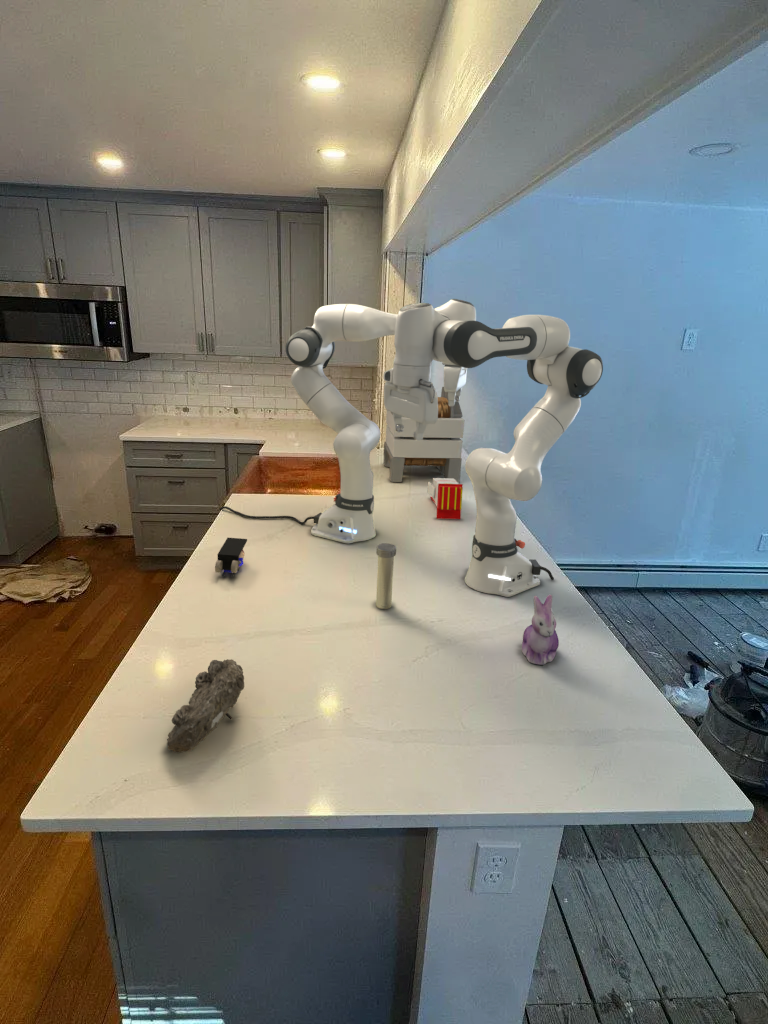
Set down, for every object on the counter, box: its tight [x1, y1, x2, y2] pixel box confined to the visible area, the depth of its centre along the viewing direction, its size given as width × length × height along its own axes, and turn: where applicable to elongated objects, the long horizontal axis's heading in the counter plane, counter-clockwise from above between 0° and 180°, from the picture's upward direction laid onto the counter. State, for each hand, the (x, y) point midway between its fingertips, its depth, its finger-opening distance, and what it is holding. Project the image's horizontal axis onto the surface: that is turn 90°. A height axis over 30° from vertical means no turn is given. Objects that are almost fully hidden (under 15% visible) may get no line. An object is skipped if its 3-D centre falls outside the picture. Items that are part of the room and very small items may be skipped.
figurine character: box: [214, 537, 248, 578], centre depth 166 cm, size 7×8×15 cm
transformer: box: [383, 386, 465, 484], centre depth 268 cm, size 34×33×41 cm
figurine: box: [521, 594, 560, 666], centre depth 130 cm, size 9×10×15 cm
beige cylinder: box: [375, 555, 395, 610], centre depth 149 cm, size 4×4×17 cm
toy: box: [427, 477, 464, 520], centre depth 227 cm, size 12×13×30 cm
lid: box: [376, 542, 397, 558], centre depth 146 cm, size 5×5×2 cm
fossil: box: [166, 658, 245, 754], centre depth 106 cm, size 22×10×15 cm
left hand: (454, 403), depth 174 cm, fingers open, 8 cm apart
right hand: (408, 435), depth 137 cm, fingers open, 8 cm apart
